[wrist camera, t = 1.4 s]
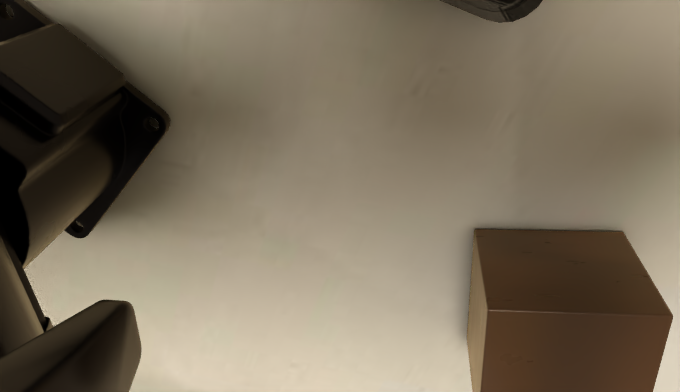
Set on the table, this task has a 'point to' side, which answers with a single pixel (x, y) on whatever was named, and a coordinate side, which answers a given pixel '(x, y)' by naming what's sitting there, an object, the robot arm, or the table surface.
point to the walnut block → (562, 313)
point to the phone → (497, 8)
